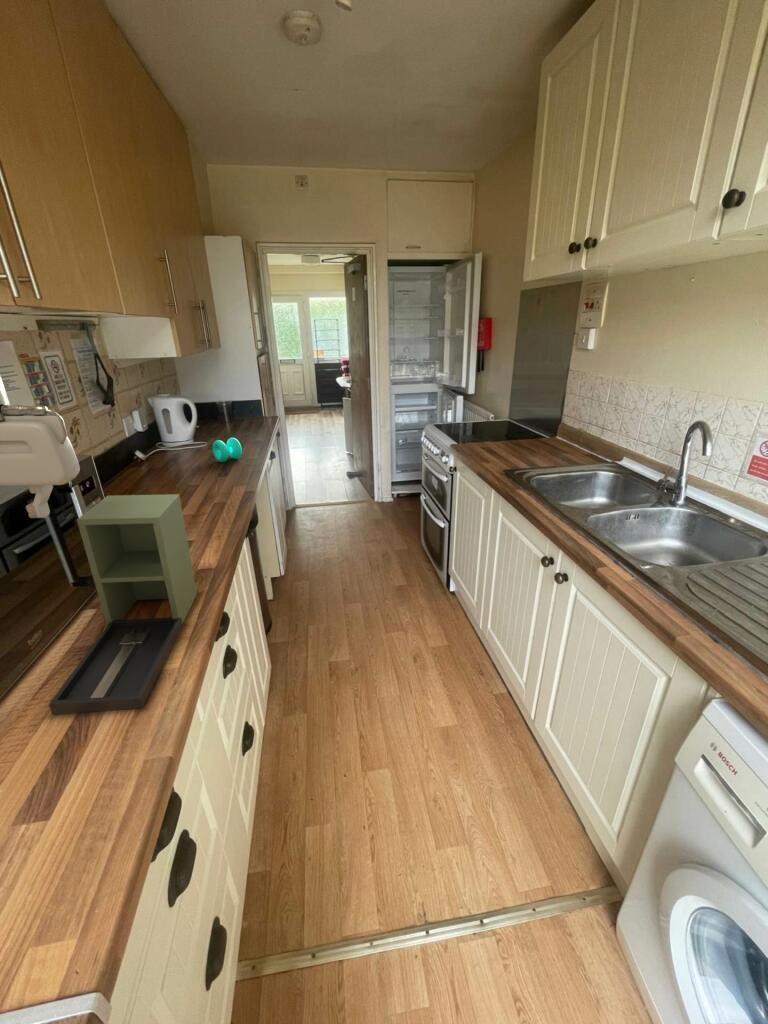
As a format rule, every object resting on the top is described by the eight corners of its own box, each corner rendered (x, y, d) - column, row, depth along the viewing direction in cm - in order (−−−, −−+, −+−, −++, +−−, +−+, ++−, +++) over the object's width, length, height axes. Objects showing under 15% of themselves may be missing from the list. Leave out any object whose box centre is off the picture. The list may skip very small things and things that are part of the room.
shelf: (108, 631, 87) (76, 519, 77) (133, 597, 98) (107, 495, 88) (180, 627, 88) (158, 517, 78) (196, 594, 99) (179, 494, 89)
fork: (111, 701, 70) (109, 696, 69) (85, 703, 69) (83, 698, 69) (152, 630, 86) (151, 625, 86) (131, 631, 86) (130, 626, 85)
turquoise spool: (212, 460, 197) (209, 439, 193) (232, 456, 204) (229, 435, 200) (224, 464, 191) (221, 442, 187) (244, 460, 198) (241, 439, 194)
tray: (52, 715, 68) (48, 704, 67) (113, 629, 87) (110, 620, 86) (142, 708, 70) (139, 698, 69) (183, 625, 89) (181, 616, 88)
